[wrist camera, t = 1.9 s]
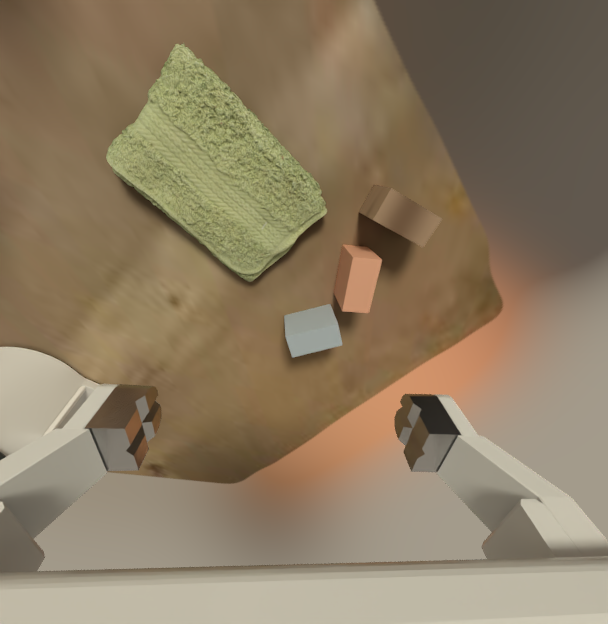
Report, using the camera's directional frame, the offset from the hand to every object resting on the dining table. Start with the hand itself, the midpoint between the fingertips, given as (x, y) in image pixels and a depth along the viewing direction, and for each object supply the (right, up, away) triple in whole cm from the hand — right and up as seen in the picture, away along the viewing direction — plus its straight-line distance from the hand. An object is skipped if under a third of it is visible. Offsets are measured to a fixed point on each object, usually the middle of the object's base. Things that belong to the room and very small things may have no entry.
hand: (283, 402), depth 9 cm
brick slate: (+1, +2, +26) cm, 26 cm away
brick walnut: (+10, +14, +21) cm, 27 cm away
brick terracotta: (+6, +8, +24) cm, 26 cm away
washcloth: (-7, +16, +19) cm, 25 cm away
